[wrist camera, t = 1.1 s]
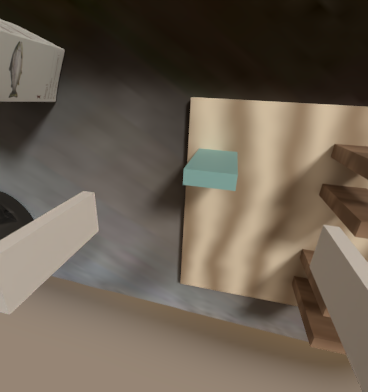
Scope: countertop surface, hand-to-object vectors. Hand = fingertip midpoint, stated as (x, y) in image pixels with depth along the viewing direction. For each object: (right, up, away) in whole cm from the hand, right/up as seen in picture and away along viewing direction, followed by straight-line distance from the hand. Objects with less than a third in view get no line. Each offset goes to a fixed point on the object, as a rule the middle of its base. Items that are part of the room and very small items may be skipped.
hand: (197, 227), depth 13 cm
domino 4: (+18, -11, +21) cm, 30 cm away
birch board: (+12, -1, +20) cm, 23 cm away
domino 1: (+4, +7, +17) cm, 19 cm away
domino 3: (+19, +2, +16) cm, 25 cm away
